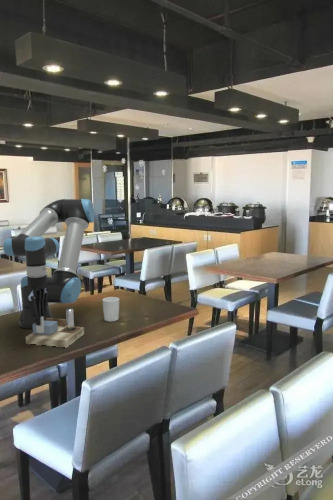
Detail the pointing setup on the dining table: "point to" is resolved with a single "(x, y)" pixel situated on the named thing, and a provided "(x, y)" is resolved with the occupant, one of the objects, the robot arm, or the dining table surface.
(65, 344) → the base plate
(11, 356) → the dining table surface
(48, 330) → the block
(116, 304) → the white cup
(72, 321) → the pin
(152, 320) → the dining table surface
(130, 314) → the dining table surface
